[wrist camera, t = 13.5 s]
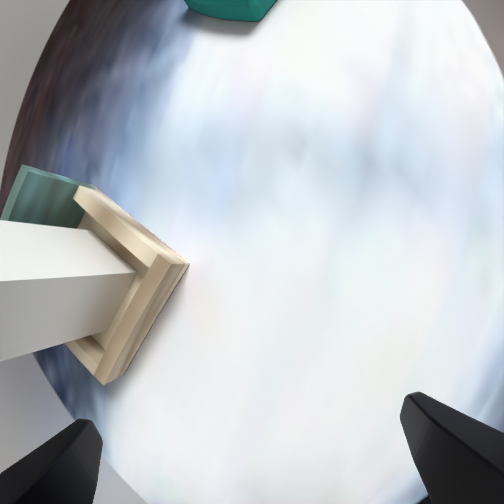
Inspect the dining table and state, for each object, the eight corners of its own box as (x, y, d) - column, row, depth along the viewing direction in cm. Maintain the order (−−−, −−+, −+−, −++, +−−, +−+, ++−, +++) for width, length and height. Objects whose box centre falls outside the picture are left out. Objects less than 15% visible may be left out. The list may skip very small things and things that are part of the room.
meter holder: (189, 263, 19) (119, 265, 12) (123, 374, 20) (56, 410, 13) (94, 185, 20) (22, 164, 13) (47, 290, 22) (-21, 297, 15)
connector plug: (137, 272, 19) (-53, 283, 6) (107, 329, 19) (-56, 375, 7) (92, 230, 20) (-74, 212, 7) (67, 286, 20) (-83, 299, 8)
